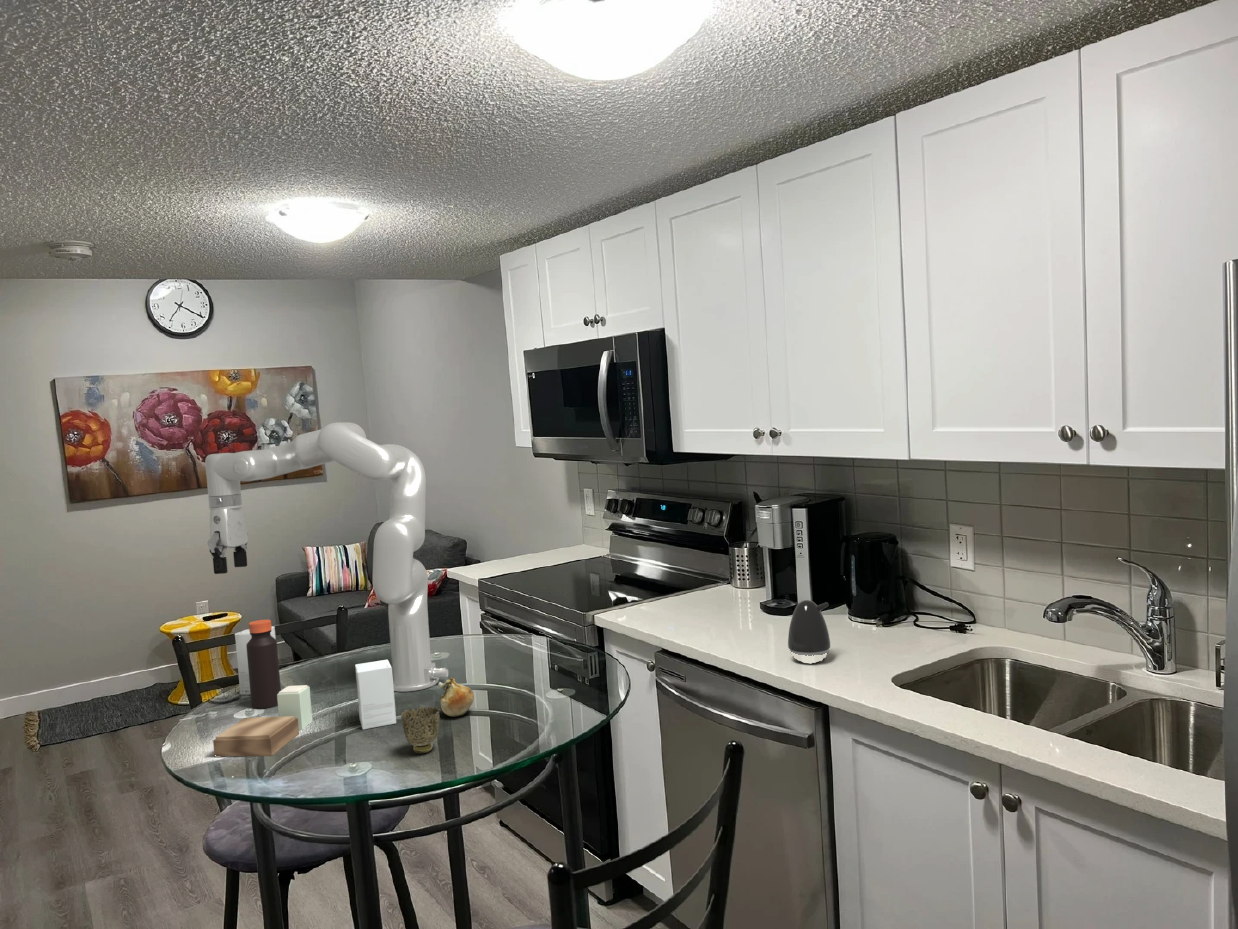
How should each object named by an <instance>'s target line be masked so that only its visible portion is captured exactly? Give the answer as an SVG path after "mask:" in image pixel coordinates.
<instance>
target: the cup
mask: <svg viewBox="0 0 1238 929" xmlns="http://www.w3.org/2000/svg"><path fill="white" fill-rule="evenodd" d="M440 711H441V710H440V707H439V708H438V706H436V705H435V706H434V707H432V706H431V705H429V706H428V707H427V706H426V705H423V706H422V707H421V705H419V706H418V707H417V709H415V708H414V707H411V710H409V709H404V712H403V711H402V712H401V715H400V718H401V722H402V727H403V734H404V737H405V740H406V741H407V743H408V744H410V745H412V746H413V747H412V748H413V749H412V750H413V751H414V753H415V754H420V755H421V754H422V755H423V754H427V753H429V752H430V751H431V750H432V749H433V746H434V745H433V743H434V742H435V740H436V739H437V737H438V735H439V732H440V731H439V729H440Z"/></svg>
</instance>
